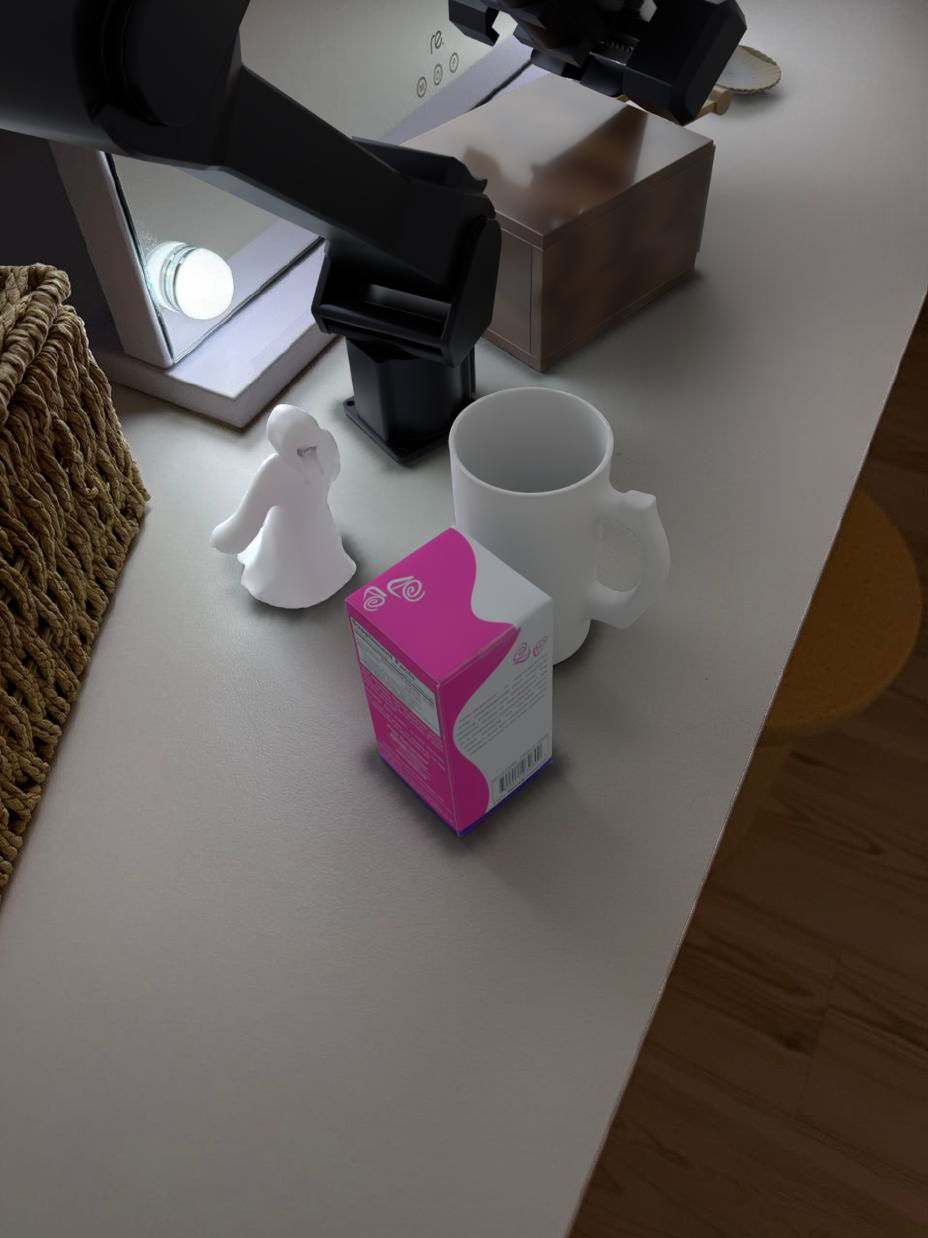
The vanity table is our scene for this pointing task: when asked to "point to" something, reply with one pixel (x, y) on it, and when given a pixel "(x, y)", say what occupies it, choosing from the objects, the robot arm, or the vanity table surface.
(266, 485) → the figurine
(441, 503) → the vanity table surface
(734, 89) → the seashell
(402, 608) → the supplement box
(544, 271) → the cabinet
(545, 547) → the mug
